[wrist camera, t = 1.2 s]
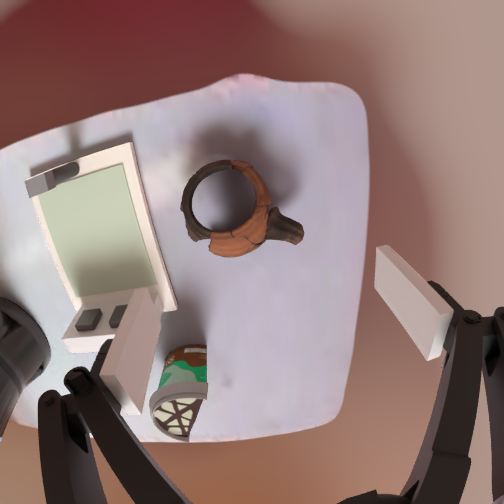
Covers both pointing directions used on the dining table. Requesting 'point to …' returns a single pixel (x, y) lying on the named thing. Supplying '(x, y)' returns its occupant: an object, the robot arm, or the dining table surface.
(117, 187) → the stand
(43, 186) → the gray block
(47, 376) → the dining table surface
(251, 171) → the pottery mug
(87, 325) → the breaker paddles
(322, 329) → the dining table surface
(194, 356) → the food container
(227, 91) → the dining table surface
